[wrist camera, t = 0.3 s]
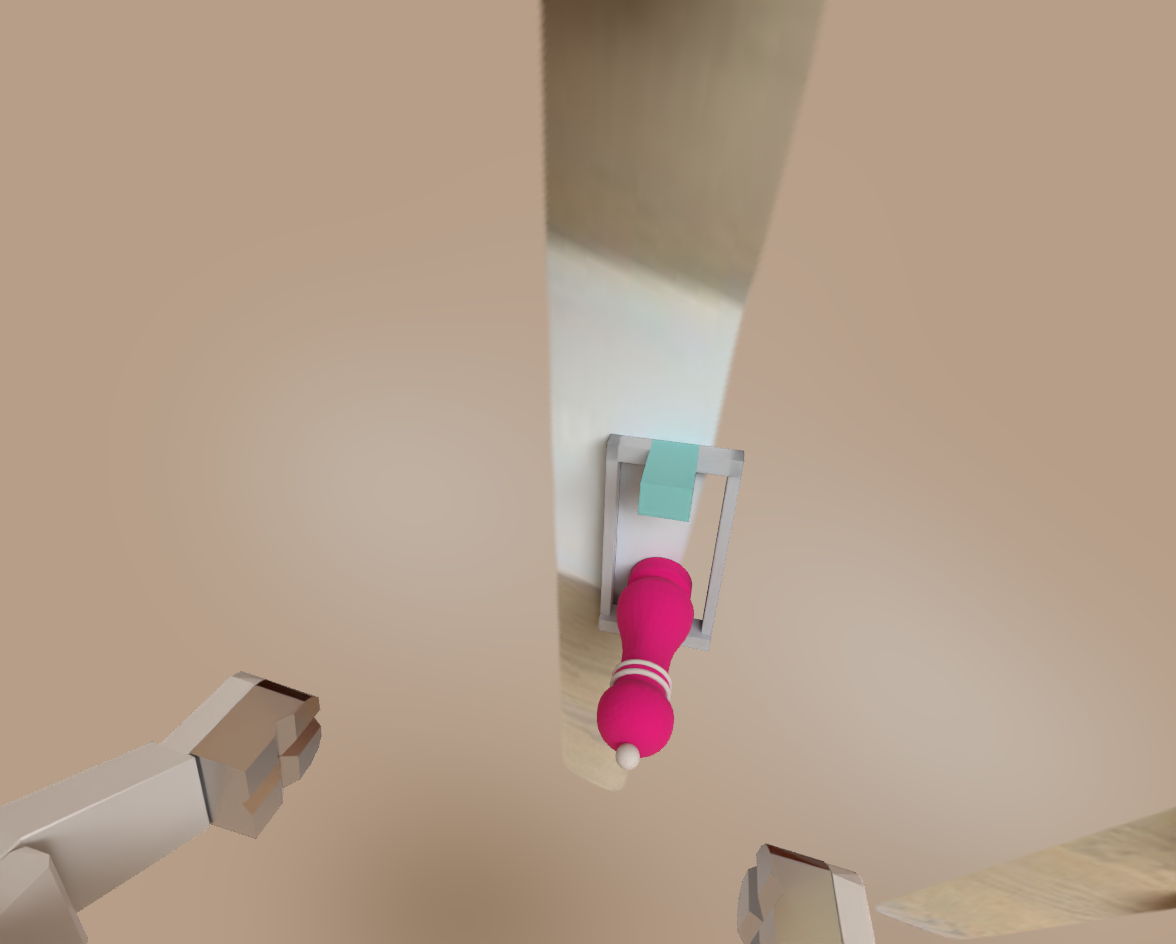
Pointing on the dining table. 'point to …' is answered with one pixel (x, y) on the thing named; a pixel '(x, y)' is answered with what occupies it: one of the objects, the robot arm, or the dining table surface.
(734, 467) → the grey rectangular frame
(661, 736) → the pepper mill
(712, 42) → the dining table surface
